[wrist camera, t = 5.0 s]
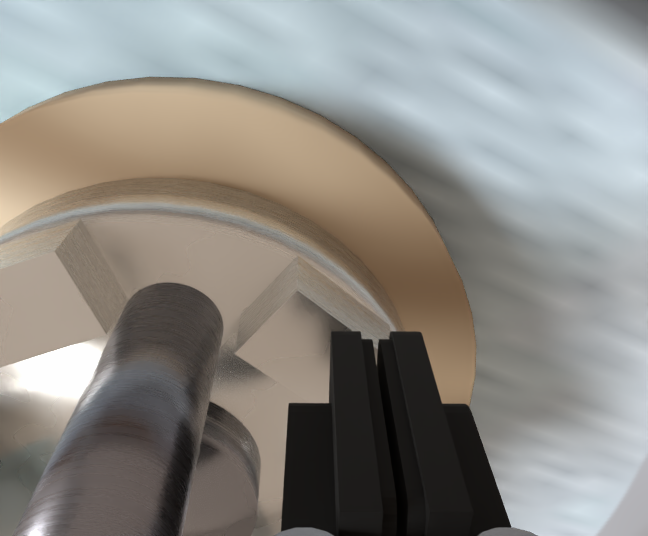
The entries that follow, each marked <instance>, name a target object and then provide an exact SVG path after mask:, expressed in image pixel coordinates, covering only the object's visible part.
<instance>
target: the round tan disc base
mask: <svg viewBox="0 0 648 536" xmlns="http://www.w3.org/2000/svg"><path fill="white" fill-rule="evenodd" d="M133 178H177V179H186V180H194V181H203V182H211V183H215V184H219V185H223V186H227V187H231V188H235V189H239V190H244V191H247V192H250V193H253V194H255V195H258V196H261V197H263V198H266V199H269V200H271V201H274V202H277V203H279V204H281V205H283V206H285V207H287V208H289V209H291V210H293V211H295V212H297V213H299V214H300V215H302V216H304V217H306V218H308V219H310V220H312V221H313V222H315V223H316V224H318V225H319V226H320V227H322V228H323V229H325V230H326V231H328V232H329V233H330V234H332V235H333V236H335V237H336V238H338V239H339V240H340V241H341V242H342V243H343V244H344V245H345V246H347V247H348V248H349V249H350V250H351V251H352V252H353V253H354V254H355V255H356V256H358V257H359V258H360V259H361V260H362V261H363V262H364V264H365V265H366V266H367V267H368V268H369V270H370V271H371V272H372V273H373V275H374V276H375V277H376V278H377V279H378V281H379V282H380V283H381V284H382V286H383V288H384V289H385V291H386V293H387V294H388V296H389V298H390V299H391V301H392V303H393V304H394V306H395V307H396V310H397V312H398V315H399V317H400V320H401V322H402V324H403V327H404V329H405V331H418V332H421V333H422V336H423V339H424V343H425V346H426V349H427V353H428V356H429V360H430V363H431V367H432V370H433V374H434V377H435V381H436V384H437V388H438V391H439V394H440V398H441V401H442V404H467V405H468V406H469V405H470V400H471V395H472V390H473V385H474V380H475V368H476V340H475V332H474V325H473V317H472V312H471V309H470V305H469V302H468V299H467V295H466V292H465V289H464V286H463V282H462V280H461V278H460V276H459V273H458V271H457V269H456V267H455V265H454V263H453V261H452V259H451V257H450V255H449V253H448V250H447V248H446V246H445V244H444V242H443V240H442V238H441V236H440V234H439V232H438V230H437V228H436V226H435V224H434V222H433V220H432V218H431V217H430V215H429V214H428V212H427V211H426V209H425V208H424V206H423V205H422V204H421V202H420V201H419V199H418V198H417V196H416V195H415V193H414V192H413V190H412V189H411V188H410V187H409V186H408V185H407V184H406V183H405V182H404V181H403V179H402V178H401V177H400V176H399V175H398V174H397V173H396V172H395V171H394V170H393V169H392V168H391V166H390V165H389V164H388V163H387V162H386V161H384V160H383V159H382V158H381V157H380V156H378V155H377V154H376V153H375V152H373V151H372V150H371V149H370V148H369V147H367V146H366V145H365V144H364V143H362V142H361V141H360V140H359V139H358V138H356V137H355V136H353V135H352V134H350V133H348V132H347V131H345V130H344V129H342V128H340V127H339V126H337V125H335V124H334V123H332V122H331V121H329V120H327V119H326V118H324V117H322V116H321V115H319V114H316V113H314V112H312V111H310V110H307V109H305V108H303V107H301V106H298V105H296V104H294V103H292V102H289V101H287V100H285V99H283V98H280V97H277V96H273V95H270V94H267V93H263V92H260V91H257V90H253V89H250V88H247V87H243V86H240V85H234V84H228V83H222V82H216V81H210V80H203V79H197V78H173V77H145V78H135V79H126V80H117V81H108V82H103V83H99V84H95V85H91V86H87V87H83V88H79V89H76V90H72V91H68V92H64V93H62V94H60V95H57V96H55V97H52V98H50V99H48V100H45V101H43V102H40V103H38V104H36V105H33V106H31V107H28V108H27V109H25V110H23V111H21V112H20V113H18V114H16V115H15V116H13V117H11V118H9V119H8V120H6V121H4V122H3V123H1V124H0V228H1V227H2V226H3V225H4V224H6V223H7V222H8V221H10V220H11V219H13V218H15V217H16V216H18V215H20V214H21V213H23V212H24V211H26V210H28V209H29V208H31V207H33V206H34V205H36V204H39V203H41V202H43V201H46V200H48V199H51V198H53V197H55V196H58V195H60V194H62V193H65V192H68V191H71V190H75V189H79V188H83V187H86V186H90V185H94V184H98V183H103V182H110V181H118V180H126V179H133Z"/></svg>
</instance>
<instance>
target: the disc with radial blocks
mask: <svg viewBox="0 0 648 536" xmlns="http://www.w3.org/2000/svg"><path fill="white" fill-rule="evenodd" d="M331 331H360V332H361V337H362V339H372V340H373V346H374V353H375V359H376V366H377V353H378V342H379V339H389V335H390V332H391V331H405V329H404V327H403V324H402V322H401V320H400V317H399V315H398V312H397V310H396V307H395V306H394V304H393V303H392V301H391V299H390V298H389V296H388V294H387V293H386V291H385V289H384V288H383V286H382V284H381V283H380V282H379V281H378V279H377V278H376V277H375V276H374V275H373V273H372V272H371V271H370V270H369V268H368V267H367V266H366V265H365V264H364V262H363V261H362V260H361V259H360V258H359V257H358V256H356V255H355V254H354V253H353V252H352V251H351V250H350V249H349V248H348V247H347V246H345V245H344V244H343V243H342V242H341V241H340V240H339V239H338V238H336V237H335V236H333V235H332V234H330V233H329V232H328V231H326V230H325V229H323V228H322V227H320V226H319V225H318V224H316V223H315V222H313V221H312V220H310V219H308V218H306V217H304V216H302V215H300V214H299V213H297V212H295V211H293V210H291V209H289V208H287V207H285V206H283V205H281V204H279V203H277V202H274V201H271V200H269V199H266V198H263V197H261V196H258V195H255V194H253V193H250V192H247V191H244V190H239V189H235V188H231V187H227V186H223V185H219V184H215V183H211V182H203V181H194V180H186V179H177V178H133V179H126V180H118V181H110V182H103V183H98V184H94V185H90V186H86V187H83V188H79V189H75V190H71V191H68V192H65V193H62V194H60V195H58V196H55V197H53V198H51V199H48V200H46V201H43V202H41V203H39V204H36V205H34V206H33V207H31V208H29V209H28V210H26V211H24V212H23V213H21V214H20V215H18V216H16V217H15V218H13V219H11V220H10V221H8V222H7V223H6V224H4V225H3V226H2V227H1V228H0V536H274V535H276V534H277V533H279V532H281V519H282V503H283V486H284V469H285V452H286V436H287V419H288V405H289V403H329V376H330V340H331Z"/></svg>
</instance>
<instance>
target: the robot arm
mask: <svg viewBox="0 0 648 536" xmlns="http://www.w3.org/2000/svg"><path fill="white" fill-rule="evenodd" d="M274 536H537V535H535V534H533V533H531V532H528V531H525V530H521V529H517V528H511V525H510V522H509V519H508V516H507V513H506V510H505V507H504V505H503V502H502V499H501V496H500V493H499V490H498V487H497V485H496V482H495V479H494V476H493V473H492V470H491V467H490V464H489V462H488V459H487V456H486V453H485V450H484V447H483V444H482V441H481V439H480V436H479V433H478V430H477V427H476V424H475V421H474V418H473V416H472V413H471V411H470V408H469V406H468V405H467V404H442V401H441V398H440V394H439V391H438V388H437V384H436V381H435V377H434V374H433V370H432V367H431V363H430V360H429V356H428V353H427V349H426V346H425V343H424V339H423V336H422V333H421V332H418V331H391V332H390V335H389V339H379V342H378V353H377V366H376V359H375V353H374V346H373V340H372V339H362V337H361V332H360V331H331V340H330V376H329V403H289V405H288V419H287V436H286V452H285V469H284V486H283V503H282V519H281V532H279V533H277V534H276V535H274Z"/></svg>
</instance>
